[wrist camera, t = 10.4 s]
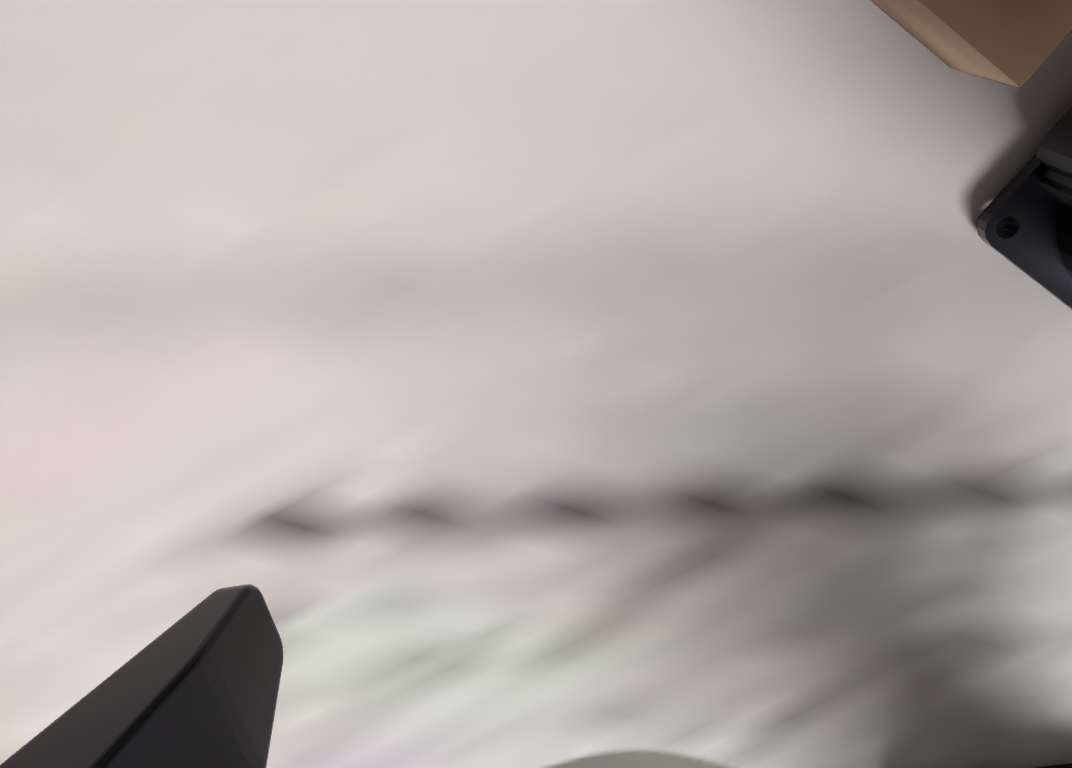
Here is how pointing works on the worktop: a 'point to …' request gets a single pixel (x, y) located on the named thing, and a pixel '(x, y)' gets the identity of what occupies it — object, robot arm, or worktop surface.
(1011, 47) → the walnut block
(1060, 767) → the chess piece
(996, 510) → the worktop surface
